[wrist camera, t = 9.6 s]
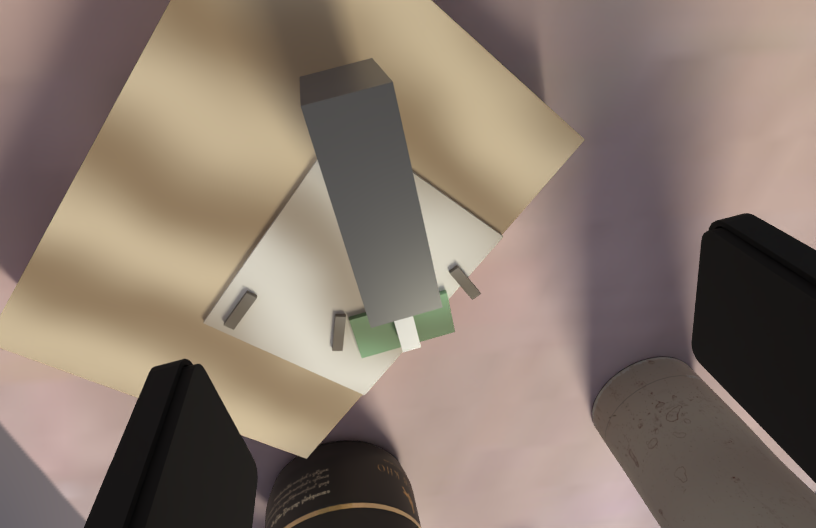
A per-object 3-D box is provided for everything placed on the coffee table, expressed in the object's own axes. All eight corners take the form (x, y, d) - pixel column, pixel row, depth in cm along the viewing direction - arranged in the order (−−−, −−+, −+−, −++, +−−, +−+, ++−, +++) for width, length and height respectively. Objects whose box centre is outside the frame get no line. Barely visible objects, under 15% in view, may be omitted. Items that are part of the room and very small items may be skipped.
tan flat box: (263, -137, 19) (255, -163, 16) (564, 132, 27) (609, 160, 23) (26, 293, 26) (-21, 350, 22) (323, 414, 33) (327, 473, 29)
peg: (298, 64, 19) (300, 106, 13) (363, 47, 19) (392, 81, 13) (384, 342, 26) (410, 453, 20) (430, 329, 26) (470, 435, 20)
